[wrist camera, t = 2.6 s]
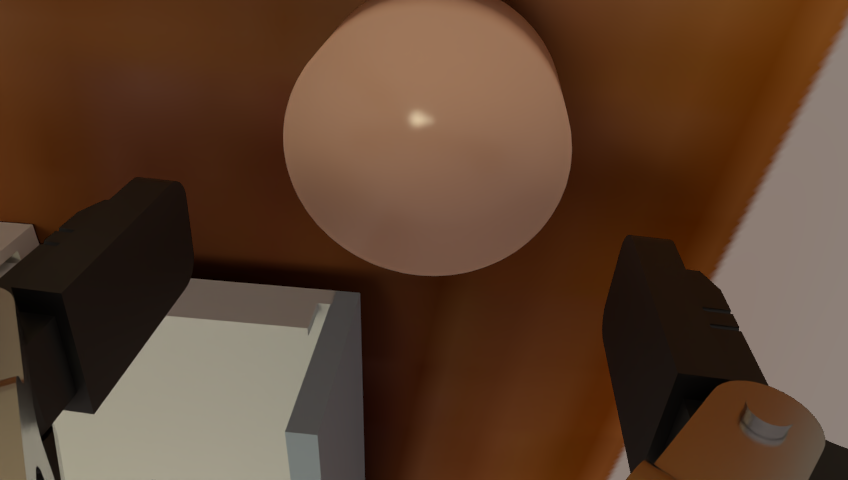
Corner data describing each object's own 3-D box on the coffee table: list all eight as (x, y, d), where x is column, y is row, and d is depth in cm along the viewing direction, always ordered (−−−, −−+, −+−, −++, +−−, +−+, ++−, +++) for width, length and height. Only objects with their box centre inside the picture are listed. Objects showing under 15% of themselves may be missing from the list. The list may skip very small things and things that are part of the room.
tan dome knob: (304, -26, 13) (269, -1, 11) (580, -11, 13) (596, 18, 11) (319, 211, 16) (294, 264, 14) (543, 228, 16) (550, 286, 14)
